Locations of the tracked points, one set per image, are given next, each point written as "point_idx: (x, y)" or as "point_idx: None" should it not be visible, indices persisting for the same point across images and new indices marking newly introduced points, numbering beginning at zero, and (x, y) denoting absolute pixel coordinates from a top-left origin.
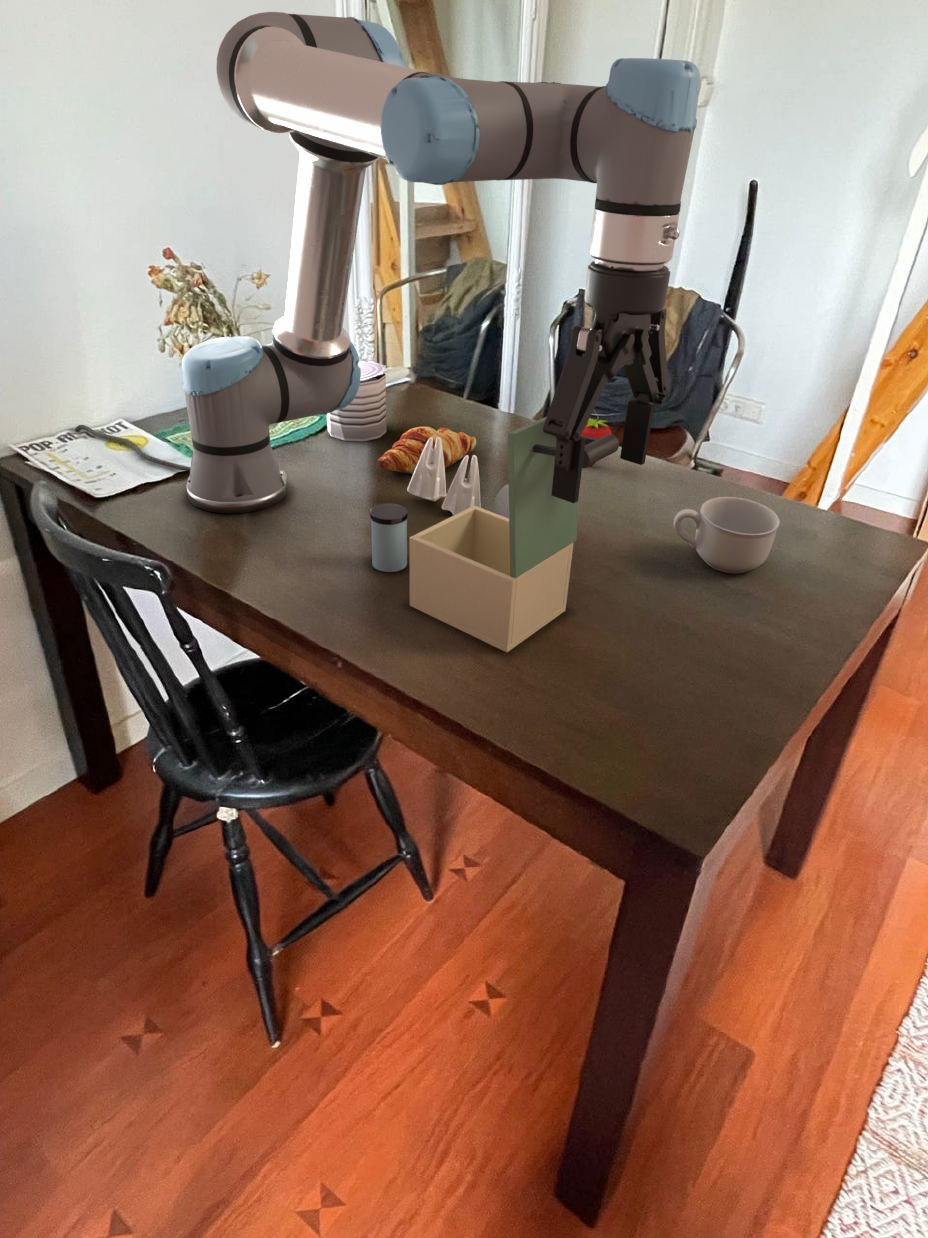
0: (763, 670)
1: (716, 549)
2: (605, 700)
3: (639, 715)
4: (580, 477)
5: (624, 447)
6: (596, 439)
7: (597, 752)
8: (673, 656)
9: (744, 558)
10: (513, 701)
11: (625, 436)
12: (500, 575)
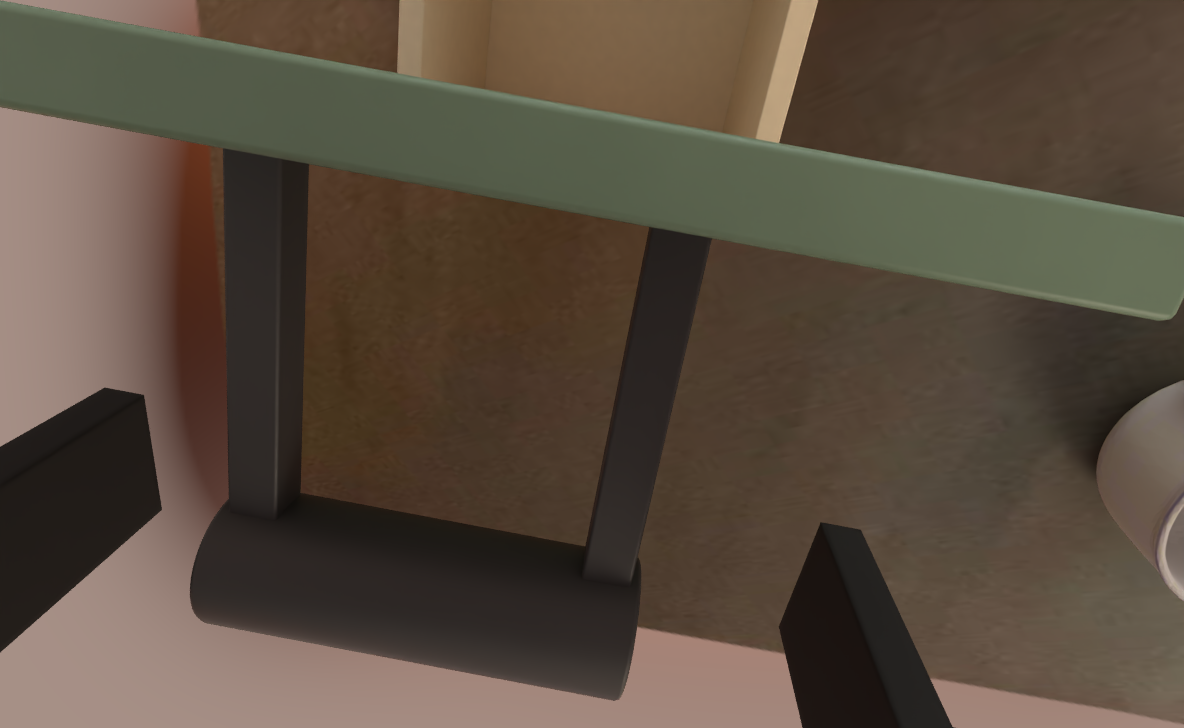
0: (708, 564)
1: (1134, 459)
2: (452, 358)
3: (451, 421)
4: (49, 602)
5: (832, 592)
6: (608, 549)
7: (316, 392)
8: (668, 426)
9: (1114, 516)
10: (331, 203)
11: (858, 648)
12: (401, 54)
